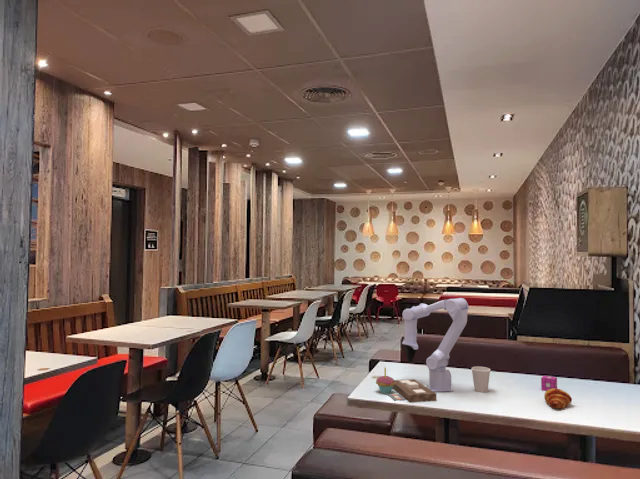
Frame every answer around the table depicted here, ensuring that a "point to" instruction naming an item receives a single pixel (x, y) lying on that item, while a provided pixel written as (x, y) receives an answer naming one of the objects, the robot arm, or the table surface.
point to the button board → (411, 395)
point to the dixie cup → (481, 378)
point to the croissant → (557, 398)
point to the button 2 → (419, 391)
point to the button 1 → (404, 381)
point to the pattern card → (396, 397)
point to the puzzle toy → (548, 383)
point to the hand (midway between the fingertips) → (410, 361)
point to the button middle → (412, 385)
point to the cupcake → (385, 383)
